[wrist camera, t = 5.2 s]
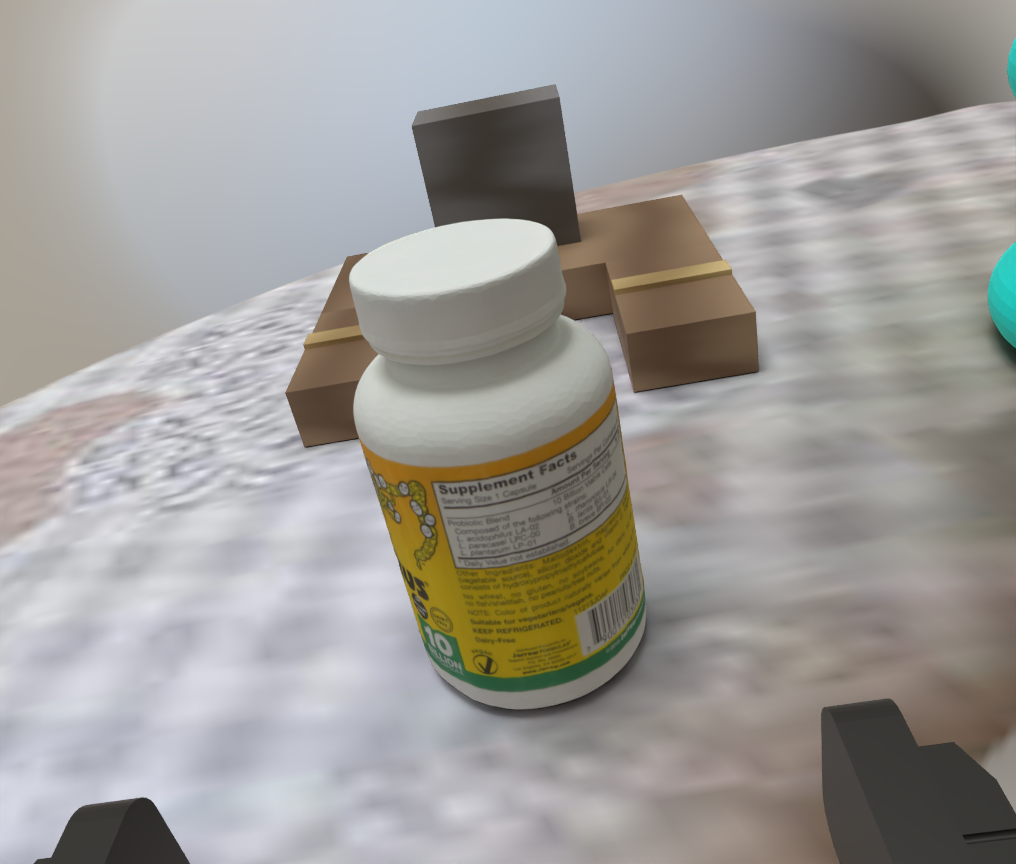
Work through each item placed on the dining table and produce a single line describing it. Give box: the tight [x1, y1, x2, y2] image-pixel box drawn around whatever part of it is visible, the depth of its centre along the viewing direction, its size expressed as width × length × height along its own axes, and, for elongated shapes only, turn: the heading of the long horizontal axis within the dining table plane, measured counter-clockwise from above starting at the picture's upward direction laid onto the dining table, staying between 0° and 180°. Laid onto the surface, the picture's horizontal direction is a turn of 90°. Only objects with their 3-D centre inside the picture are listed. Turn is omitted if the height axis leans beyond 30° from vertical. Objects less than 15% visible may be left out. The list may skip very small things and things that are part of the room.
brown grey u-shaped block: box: [286, 85, 759, 447], centre depth 35 cm, size 16×14×8 cm
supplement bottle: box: [349, 219, 646, 709], centre depth 19 cm, size 5×5×10 cm
